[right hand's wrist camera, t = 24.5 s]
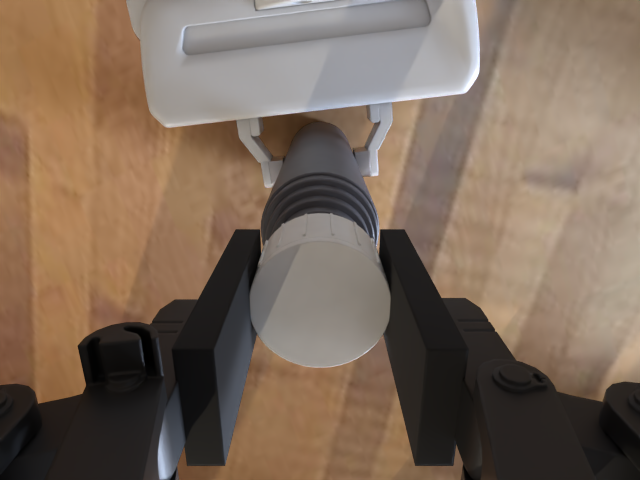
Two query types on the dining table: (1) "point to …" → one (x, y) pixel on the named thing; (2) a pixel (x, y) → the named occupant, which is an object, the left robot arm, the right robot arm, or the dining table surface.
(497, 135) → the dining table surface
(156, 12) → the left robot arm
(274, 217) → the bottle
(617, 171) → the dining table surface
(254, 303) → the cap
